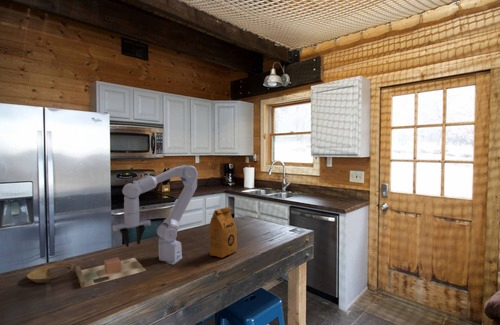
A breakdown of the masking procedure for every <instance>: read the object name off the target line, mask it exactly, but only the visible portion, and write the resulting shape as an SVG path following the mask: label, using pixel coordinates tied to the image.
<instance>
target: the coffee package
mask: <svg viewBox="0 0 500 325" xmlns="http://www.w3.org/2000/svg"><path fill="white" fill-rule="evenodd" d="M231 211H232V207H231V206H226V207H222V208H218V209H216V210H214V211H213V214H212V217H211V218H210V221H209V222H210V223H209V238H208V239H209V255H210V256H213V257H217V258H225V257H226V256H230V255H231V254H234V253H236V252H237V250H238V240H237V238H238V237H237V235H238V231H237V230H238V229H237V226H236V222H235V219H233V216H232V214H231V213H232V212H231Z"/></svg>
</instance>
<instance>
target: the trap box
mask: <svg viewBox="0 0 500 325" xmlns="http://www.w3.org/2000/svg"><path fill="white" fill-rule="evenodd" d="M120 261H121V271H119V272H115V273H111V274H107V273H106V272H105V265H104V264H102V265H98V266H93V267H90V268H86V269H82V268H81V266H80V265H77V266H75V273H76V276H77V279H78V283H79V285H80V289H83V288H86V287H91V286H94V285H98V284H100V283H101V284H102V283H105V282H109V281H113V280H116V279H121V278H123V277H128V276H132V275H135V274H138V273H143V272H147V270H146V268H145V267H144V266H143V265H142V264H141V263H140V262H139V261H138V260H137V259H136V258H135V257H132V258H127V259H124V260H120ZM105 277H107V278H108V279H105V280H101V281H97V282H94V280H98V279H102V278H105Z"/></svg>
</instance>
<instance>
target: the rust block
mask: <svg viewBox="0 0 500 325" xmlns="http://www.w3.org/2000/svg"><path fill="white" fill-rule="evenodd" d="M121 261H122V260H121V259H120V258H119V257H114V258H109V259H104V261H103V262H104V264H103V265H105V272H106V273H107V274H111V273H115V272H119V271H121Z"/></svg>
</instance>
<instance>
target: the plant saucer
mask: <svg viewBox="0 0 500 325" xmlns="http://www.w3.org/2000/svg"><path fill="white" fill-rule="evenodd" d="M59 267H67V268H70V269H69V270H67V271H66V272H63V273H61V274H58V275H54V276H51V270H50V269H52V268H59ZM73 268H74V265H73V264H72V263H70V262H69V263H68V262H62V263H60V262H59V263H52V264H47V265H44V266H41V267H38V268H36V269H33V270H31V271H30V272H28V274H27V275H26V277H27V279H29V280H30V281H32V282H33V283H37V284H43V283H50V282H51V281H52V280H54V279H58V278H61V277H64V276H66V275H68V274H69V273H71V271H72V270H73Z"/></svg>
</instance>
